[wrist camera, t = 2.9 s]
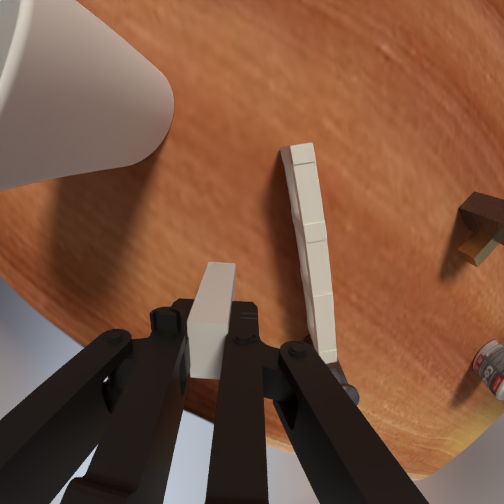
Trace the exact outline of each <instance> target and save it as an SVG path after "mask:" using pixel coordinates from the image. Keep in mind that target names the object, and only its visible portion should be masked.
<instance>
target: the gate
mask: <svg viewBox="0 0 504 504" xmlns="http://www.w3.org/2000/svg"><path fill="white" fill-rule="evenodd" d="M280 151H281V157H282V162H283V163H284V168H285V174H286V180H287V185H288V191H289V197H290V203H291V214H292V220H293V224H294V227H295V234H296V240H297V247H298V253H299V260H300V272H301V279H302V282H303V289H304V296H305V304H306V312H307V325H308V329H309V332H310V336H311V339H312V342H313V345H314V348H315V350H316V351H317V353H318V354H319V355H320V357H321V358H322V360H323V361H324V362H325V364H328V363H332V362H336V361H337V350H336V336H335V321H334V303H333V293H332V284H331V273H330V264H329V254H328V246H327V234H326V226H325V221H324V214H323V207H322V200H321V193H320V186H319V180H318V173H317V167H316V159H315V153H314V147H313V143H307V144H300V145H294V146H288V147H283V148H280Z"/></svg>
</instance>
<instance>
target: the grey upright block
mask: <svg viewBox="0 0 504 504" xmlns="http://www.w3.org/2000/svg"><path fill="white" fill-rule="evenodd" d="M459 209H460V211H461V213H462V216H463V218H464V220H465V222H466V225H467V227H468V229H470V230H472V231H474V232H473V233H472V234H471V236H470V237H469V238H468V239H467V240H466V241H465V242H464V243H463V244H462V245H461V246H460V247H459V248H458V249H457V250H458V252H459V254H460V257H461V258H463V259H464V260H466V261H468V262H469V263H471V264H472V265H474V266H476V267H478V266H479V265H480V264H481V263H482V262H483V261H484V260H485V259H486V258H487V256H488V255H489V254H490V253H491V252H492V251H493V250H494V249H495V247H496V246H497V245H498V244H499V243H500V244H502V245H504V200H503V199H499V198H496V197H492V196H489V195H485V194H482V193H478V192H474V193H473V194H472V195H471V196H470V197H469V198H468V199H467V200H466V201H465V202H464V203H463V204H462V205H461V206H460V207H459Z"/></svg>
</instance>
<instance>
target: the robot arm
mask: <svg viewBox="0 0 504 504" xmlns="http://www.w3.org/2000/svg"><path fill="white" fill-rule="evenodd" d="M235 267H236V263H220V262H209V263H208V266H207V268H206V271H205V274H204V276H203V279H202V282H201V284H200V287H199V290H198V292H197V295H196V298H195V299H181V298H179V299H178V300H177V301H175V302H174V303H173V304H172V306H171V307H160V308H157V309H154V310H153V311H152V312H150V321H151V330H152V332H151V334H150V336H149V337H148V338H143V339H132V338H131V334H130V333H129V332H128V331H126V330H122V329H111V330H108V331H106V332H104V333H102V334H101V335H100V336H98V337H97V338H96V339H95V340H93V341H92V342H91V343H90V344H89V345H87V346H86V347H85V348H84V349H83V350H81V351H80V352H79V353H78V354H77V355H75V356H74V357H73V358H72V359H71V360H69V361H68V362H67V363H66V364H65V365H63V366H62V367H61V368H60V369H59V370H57V371H56V372H55V373H54V374H53V375H52V376H51V377H49V378H48V379H47V380H46V381H45V382H43V383H42V384H41V385H40V386H39V387H38V388H36V389H35V390H34V391H33V392H32V393H31V394H29V395H28V396H27V397H26V398H25V399H24V400H23V401H22V402H20V403H19V404H18V405H17V406H16V407H15V408H13V409H12V410H11V411H10V412H9V413H8V414H7V415H6V416H4V417H3V418H2V419H1V420H0V504H50V503H51V501H52V500H53V499H54V498H55V496H56V495H57V494H58V493H59V492H60V490H61V489H62V488H63V487H64V485H65V484H66V483H67V482H68V480H69V479H70V478H71V477H72V476H73V474H74V473H75V472H76V471H77V469H78V468H79V467H80V466H81V464H82V463H83V462H84V461H85V459H86V458H87V457H88V456H89V455H90V453H91V452H92V451H93V450H94V448H95V447H96V446H97V445H98V446H97V449H96V451H95V453H94V456H93V458H92V460H91V463H90V465H89V467H88V470H87V472H86V474H85V475H84V476H83V477H76V478H74V479H72V480H71V481H70V483H69V485H68V486H67V488H66V491H65V493H64V495H63V498H62V500H61V503H60V504H163V500H164V495H165V491H166V485H167V480H168V476H169V471H170V466H171V462H172V457H173V452H174V448H175V443H176V439H177V434H178V429H179V425H180V421H181V417H182V412H183V408H184V404H185V399H186V395H187V391H188V387H189V382H188V374H189V370H190V377H193V378H205V379H218V380H220V382H219V390H218V398H217V406H216V414H215V423H214V432H213V440H212V448H211V456H210V465H209V474H208V483H207V492H206V500H205V504H269V501H268V483H267V481H268V480H267V459H266V437H265V417H264V397H265V398H269V399H273V404H274V407H275V409H276V411H277V413H278V416H279V418H280V420H281V422H282V424H283V427H284V429H285V431H286V433H287V435H288V438H289V440H290V442H291V444H292V446H293V449H294V451H295V453H296V455H297V457H298V459H299V461H300V463H301V465H302V468H303V470H304V472H305V474H306V476H307V478H308V480H309V482H310V484H311V486H312V488H313V491H314V492H315V495H316V497H317V499H318V500H319V503H320V504H429V503H428V501H427V500H426V499H425V498H424V496H423V495H422V493H421V492H420V491H419V489H418V488H417V487H416V485H415V484H414V483H413V481H412V480H411V479H410V477H409V476H408V475H407V473H406V472H405V471H404V469H403V468H402V467H401V465H400V464H399V463H398V461H397V460H396V459H395V457H394V456H393V455H392V453H391V452H390V451H389V449H388V448H387V446H386V445H385V444H384V442H383V441H382V440H381V438H380V437H379V436H378V434H377V433H376V432H375V430H374V429H373V428H372V426H371V425H370V424H369V422H368V421H367V419H366V418H365V417H364V415H363V414H362V413H361V411H360V410H359V409H358V407H357V406H356V405H355V403H354V402H353V400H352V399H351V398H350V396H349V395H348V394H347V392H346V391H345V390H344V388H343V387H342V385H341V384H340V383H339V381H338V380H337V379H336V377H335V376H334V375H333V373H332V372H331V370H330V369H329V368H328V366H327V365H326V364H325V362H324V361H323V360H322V358H321V357H320V355H319V354H318V353H317V351H316V350H315V349H314V348H313V347H312V346H311V345H310V344H307V343H305V342H301V341H290V342H286V343H284V344H283V345H281V347H280V349H278V348H274V347H271V346H268V345H266V344H264V343H263V342H262V341H261V339H260V337H259V327H258V307H257V306H256V305H255V304H254V303H253V302H242V301H234V294H235ZM107 376H108V380H107V381H106V382H103V381H104V380H105V378H106V377H107ZM98 443H99V444H98Z"/></svg>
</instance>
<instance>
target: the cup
mask: <svg viewBox="0 0 504 504" xmlns="http://www.w3.org/2000/svg"><path fill="white" fill-rule="evenodd" d="M173 114H174V97H173V92H172V89H171V86H170V84H169V82H168V80H167V79H166V77H165V76H164V75H163V74H162V73H161V72H160V71H159V70H158V69H157V68H156V67H155V66H154V65H152V64H151V63H150V62H149V61H148V60H147V59H146V58H145V57H143V56H142V55H141V54H140V53H139V52H138V51H137V50H135V49H134V48H133V47H132V46H131V45H130V44H128V43H127V42H126V41H125V40H124V39H123V38H121V37H120V36H119V35H118V34H117V33H115V32H114V31H113V30H112V29H111V28H109V27H108V26H107V25H106V24H105V23H103V22H102V21H101V20H100V19H98V18H97V17H96V16H95V15H93V14H92V13H91V12H90V11H88V10H87V9H86V8H84V7H83V6H82V5H81V4H79V3H78V2H77V1H75V0H0V191H3V190H7V189H11V188H15V187H19V186H23V185H27V184H32V183H36V182H41V181H45V180H50V179H55V178H60V177H65V176H71V175H76V174H82V173H88V172H94V171H100V170H106V169H113V168H120V167H126V166H130V165H133V164H136V163H138V162H140V161H142V160H143V159H145V158H146V157H148V156H149V155H150V154H152V153H153V152H154V151H155V150H156V149H157V148H158V147H159V145H160V144H161V143H162V141H163V140H164V138H165V137H166V135H167V133H168V131H169V128H170V126H171V123H172V119H173Z"/></svg>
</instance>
